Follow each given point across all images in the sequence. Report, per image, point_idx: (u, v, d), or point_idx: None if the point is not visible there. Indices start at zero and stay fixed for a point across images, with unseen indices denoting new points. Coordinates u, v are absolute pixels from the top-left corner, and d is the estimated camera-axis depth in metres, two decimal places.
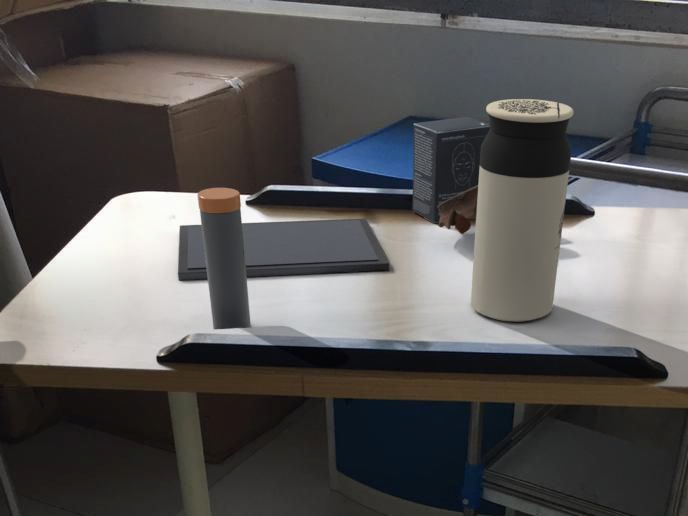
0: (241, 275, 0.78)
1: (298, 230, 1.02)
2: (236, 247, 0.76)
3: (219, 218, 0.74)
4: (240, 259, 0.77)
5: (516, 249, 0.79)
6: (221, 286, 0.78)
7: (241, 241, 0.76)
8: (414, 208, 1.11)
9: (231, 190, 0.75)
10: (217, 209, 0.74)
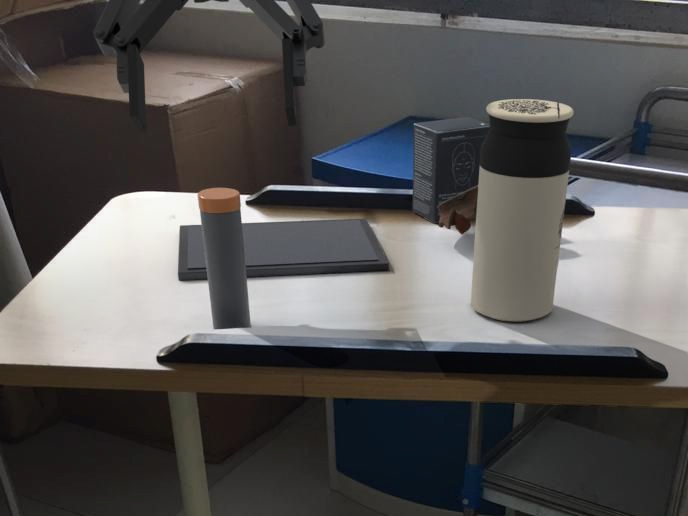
0: (241, 275, 0.78)
1: (298, 230, 1.02)
2: (236, 247, 0.76)
3: (219, 218, 0.74)
4: (240, 259, 0.77)
5: (516, 249, 0.79)
6: (221, 286, 0.78)
7: (241, 241, 0.76)
8: (414, 208, 1.11)
9: (231, 190, 0.75)
10: (217, 209, 0.74)
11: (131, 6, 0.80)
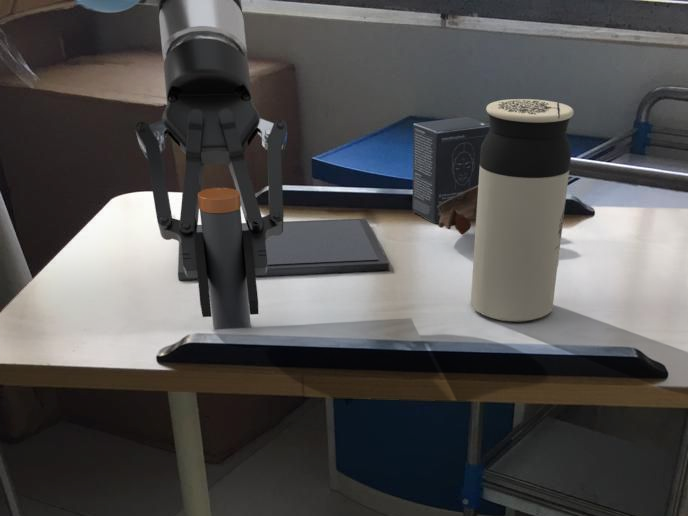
0: (241, 275, 0.78)
1: (298, 230, 1.02)
2: (236, 247, 0.76)
3: (219, 218, 0.74)
4: (240, 259, 0.77)
5: (516, 249, 0.79)
6: (221, 286, 0.78)
7: (241, 241, 0.76)
8: (414, 208, 1.11)
9: (231, 190, 0.75)
10: (217, 209, 0.74)
11: None
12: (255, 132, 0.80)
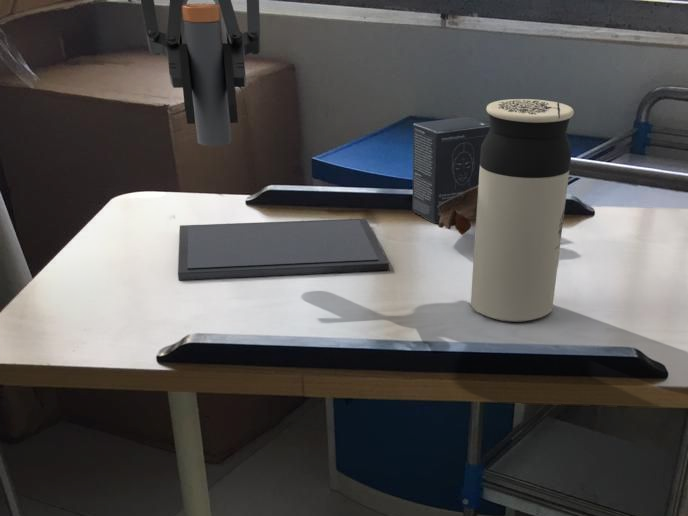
0: (222, 86, 0.86)
1: (298, 230, 1.02)
2: (217, 58, 0.85)
3: (201, 27, 0.83)
4: (220, 70, 0.85)
5: (516, 249, 0.79)
6: (204, 96, 0.86)
7: (221, 53, 0.85)
8: (414, 208, 1.11)
9: (212, 4, 0.84)
10: (199, 18, 0.82)
11: None
12: None
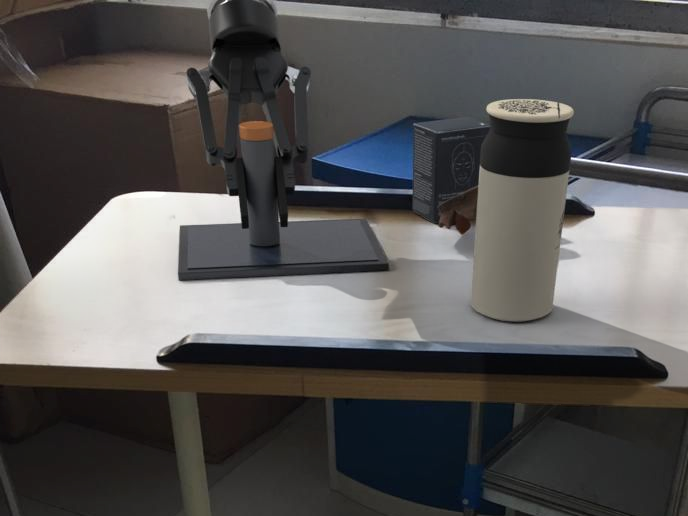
0: (273, 194, 0.94)
1: (298, 230, 1.02)
2: (270, 170, 0.93)
3: (257, 145, 0.91)
4: (272, 180, 0.94)
5: (516, 249, 0.79)
6: (257, 204, 0.94)
7: (274, 165, 0.93)
8: (414, 208, 1.11)
9: (266, 122, 0.92)
10: (255, 137, 0.90)
11: None
12: (284, 77, 0.96)
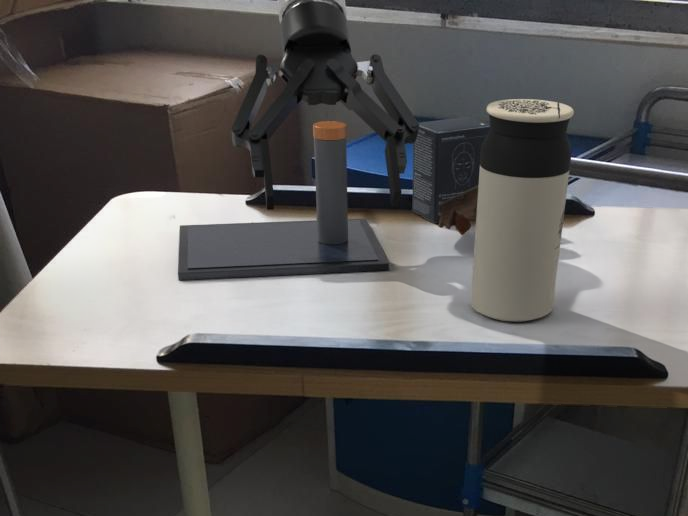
0: (344, 193, 0.96)
1: (298, 230, 1.02)
2: (342, 170, 0.94)
3: (331, 145, 0.92)
4: (344, 180, 0.95)
5: (516, 249, 0.79)
6: (328, 202, 0.96)
7: (345, 165, 0.94)
8: (414, 208, 1.11)
9: (339, 123, 0.93)
10: (329, 137, 0.92)
11: (257, 107, 0.96)
12: (356, 74, 0.98)
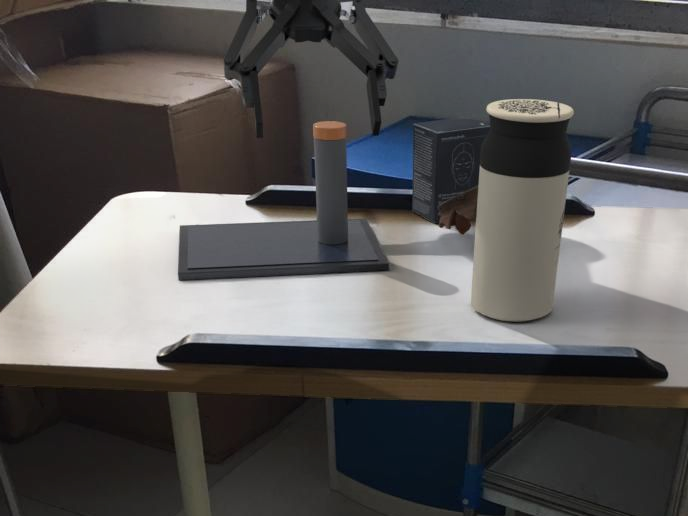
0: (344, 193, 0.96)
1: (298, 230, 1.02)
2: (342, 170, 0.94)
3: (331, 145, 0.92)
4: (344, 180, 0.95)
5: (516, 249, 0.79)
6: (328, 202, 0.96)
7: (345, 165, 0.94)
8: (414, 208, 1.11)
9: (339, 123, 0.93)
10: (329, 137, 0.92)
11: (247, 43, 1.03)
12: (340, 14, 1.05)
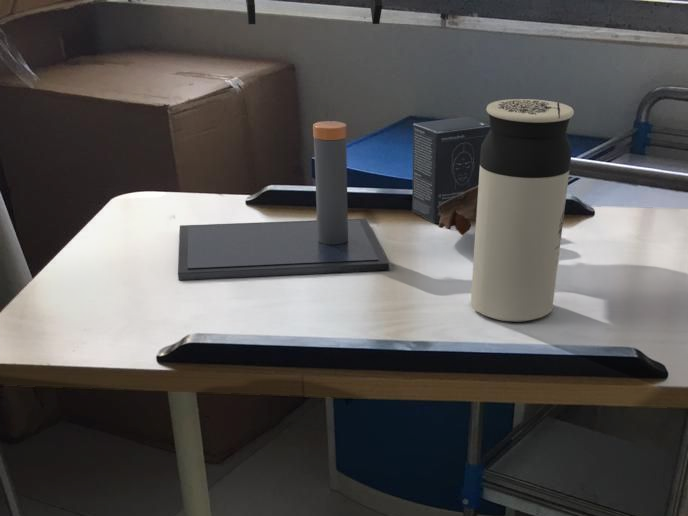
0: (344, 193, 0.96)
1: (298, 230, 1.02)
2: (342, 170, 0.94)
3: (331, 145, 0.92)
4: (344, 180, 0.95)
5: (516, 249, 0.79)
6: (328, 202, 0.96)
7: (345, 165, 0.94)
8: (414, 208, 1.11)
9: (339, 123, 0.93)
10: (329, 137, 0.92)
11: None
12: None
